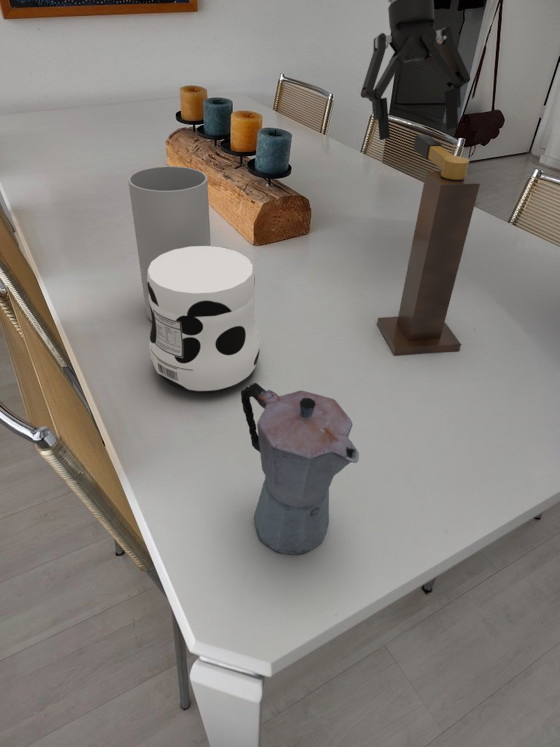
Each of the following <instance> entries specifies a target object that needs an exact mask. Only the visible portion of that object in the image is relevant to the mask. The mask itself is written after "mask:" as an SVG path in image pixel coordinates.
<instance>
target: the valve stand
mask: <svg viewBox="0 0 560 747" xmlns="http://www.w3.org/2000/svg"><path fill="white" fill-rule="evenodd" d="M480 185H481V183H479V181H477V180H476V179H474V178H473V177H471V176H470V175H469V174H468V173H466V176H465V178H464V179H461V180H452V179H447V178H444V177H442V176H441V170H436V171H435V170H434V171H432V170H431V171H426V172H425V175H424V181H423V187H422V190H421V197H420V201H419V207H418V212H417V218H416V222H415V227H414V232H413V237H412V243H411V248H410V254H409V258H408V262H407V269H406V274H405V278H404V283H403V290H402V294H401V300H400V305H399V310H398V315H397V316H384V317H383V316H382V317H377V321H376V326H377V328H378V329H379V332H380V333H381V335H382V337H383V338H384V340H385V342H386V344H387V346H388V347H389V350H390V351H391V353H392V355H393V356H405V355H418V354H419V355H420V354H421V355H422V354H434V353H449V352H459V351H460V349H461V346H462V343H461V342H460V341H459V339H458V338H457V336H456V335H455V334H454V332H453V330H452V329H451V328H450V327H449V326H448V324H447V323H446V319H447V314H448V310H449V307H450V302H451V300H452V299H451V298H452V295H453V291H454V287H455V284H456V279H457V276H458V271H459V268H460V263H461V258H462V256H463V252H464V247H465V244H466V240H467V236H468V232H469V228H470V225H471V220H472V216H473V213H474V210H475V205H476V201H477V198H478V194H479V189H480Z"/></svg>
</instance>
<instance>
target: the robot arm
mask: <svg viewBox="0 0 560 747" xmlns="http://www.w3.org/2000/svg"><path fill="white" fill-rule="evenodd" d="M387 2H388V3H390V4H389V5H388V7H387V10H388V23H389V29H390V35H386V33H384V32H380V34H378V35H377V36H375V37H374V39H373V47H372V48H373V52H372V55H371V59H370V61H369V65H368V68H367V71H366V75H365V78H364V81H363V85H362V87H361V91H360V97H361V98H362V99H368V100H369V101H370V102H371V107H372V117H373V120H374V121H377V125H378V133H379V134H378V137H379V141H382V140H383V141H384V140H387V139H390V138H391V134H390V121H389V120H390V119H389V109H388V97H383V96H384V94H385V92H386V90H387V89H388V87H389V85H390V83H391V81H392V80H393V78H394V76H395V74H396V73H397V71H398V69H399V67H400V65H401V64H406V63H410V62H420V61H422V60H423V61H424V62H425V63H426V64H428V65H429V66H430V68H431V69H432V70H433V71H434V72H435V74H437V76H438V78H439V79H440V80H441V82H442V83H443V84H444V85H445V86H446V88H448V90H446V91H444V102H445V104H444V106H445V124H446V131H449V130H453V129H458V128H459V114H458V113H459V112H458V109H459V108H461V106H462V98H461V96H462V95H461V89H462V87H463V86H465V85H466V84H467V83H469V82H470V81H471V76H470V73H469V72H468V69H467V67H466V65H465V63H464V61H463V58H462V56H461V54H460V52H459V50H458V48H457V45H456V42H455V41H454V37H453V30H452V27H451V26H450V25H447V26H445V27H444V28H442V29H438V30H436V29H435V1H434V0H387ZM435 41H436V43H437V44H439V47H440V50H441V52H442V54H443V56H444V58H443V57H442V55H441V54H440V50H439V49H438V48H437V46H436V45H435ZM389 46H390V48H391V49H392V50H393V53H392V55H391V57H390V59H389V61H388V64H387V65H386V68H385V69H384V72H383V73H382V74H381V76H380V78H379V80H378V81H377V79H378V75H379V74H380V73H379V72H380V69H381V66H382V63H383V60H384V56H385V53H386V50H387V49H388V48H389ZM376 82H377V83H376Z"/></svg>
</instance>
